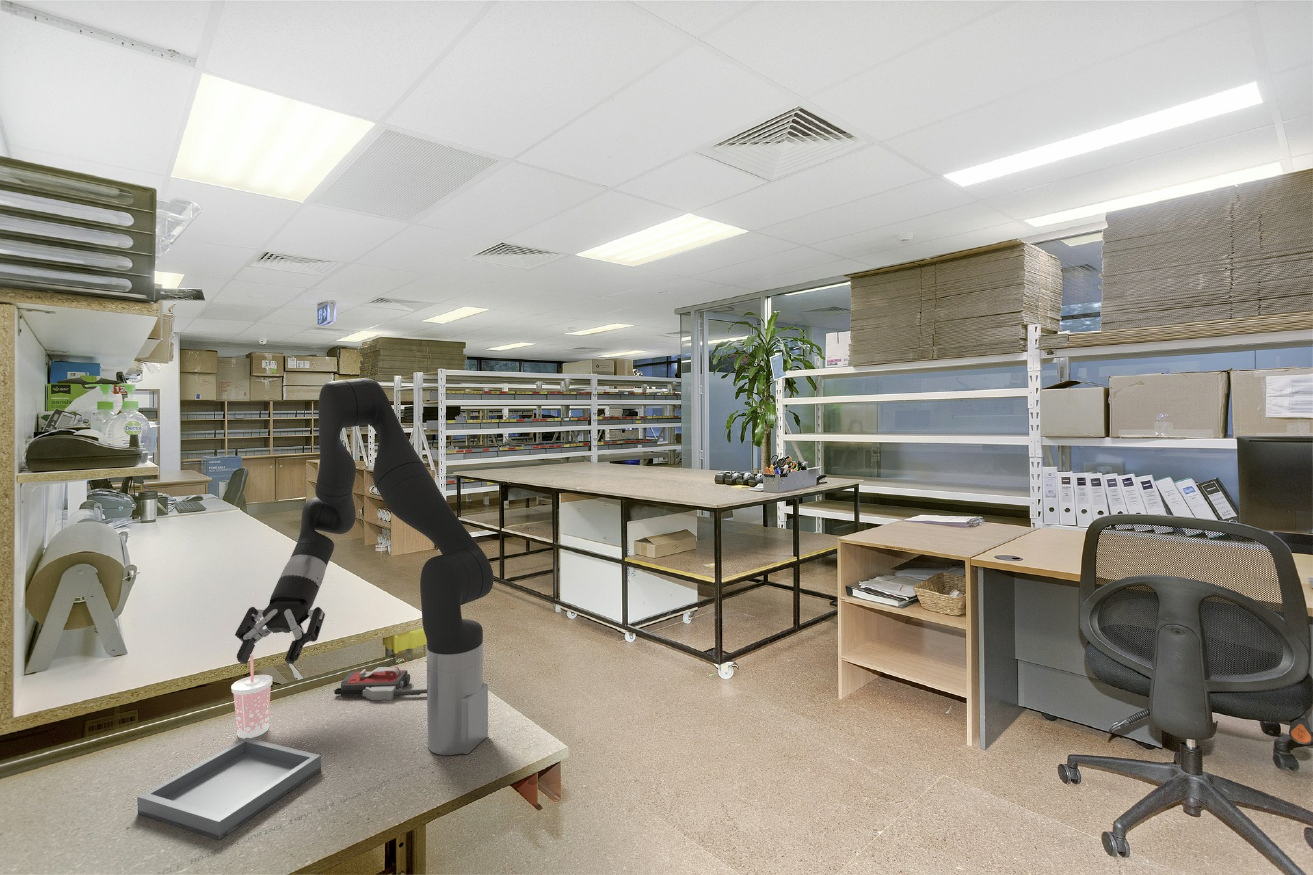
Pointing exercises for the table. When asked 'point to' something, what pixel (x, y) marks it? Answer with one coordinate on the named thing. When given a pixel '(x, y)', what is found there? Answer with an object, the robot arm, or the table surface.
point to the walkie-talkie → (377, 684)
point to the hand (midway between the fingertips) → (265, 662)
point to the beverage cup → (252, 703)
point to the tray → (229, 787)
